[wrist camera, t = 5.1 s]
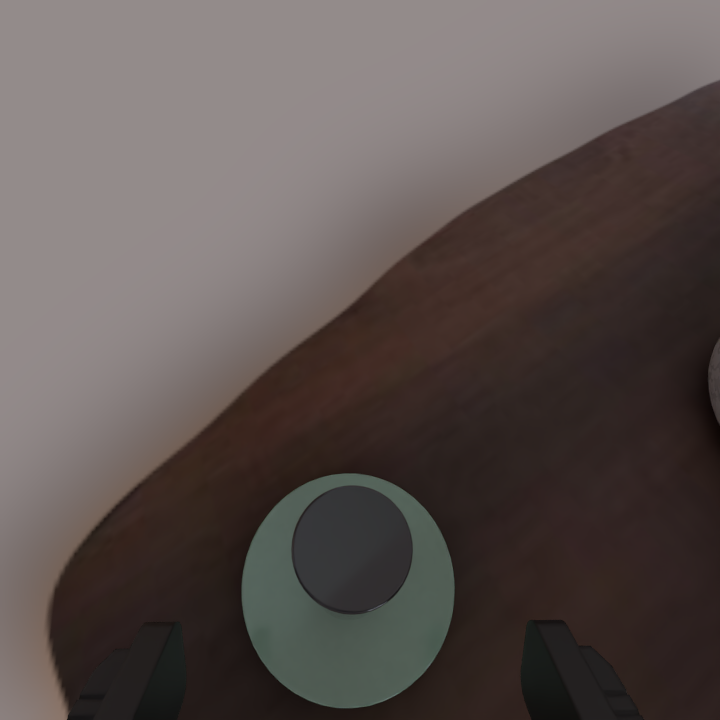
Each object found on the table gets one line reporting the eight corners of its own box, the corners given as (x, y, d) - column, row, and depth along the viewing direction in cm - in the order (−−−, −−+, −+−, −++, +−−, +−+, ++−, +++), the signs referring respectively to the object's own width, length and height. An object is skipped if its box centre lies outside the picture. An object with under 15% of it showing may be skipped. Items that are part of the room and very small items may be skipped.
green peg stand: (254, 728, 17) (172, 820, 9) (240, 498, 20) (173, 413, 12) (474, 677, 17) (585, 717, 9) (421, 466, 21) (468, 368, 13)
